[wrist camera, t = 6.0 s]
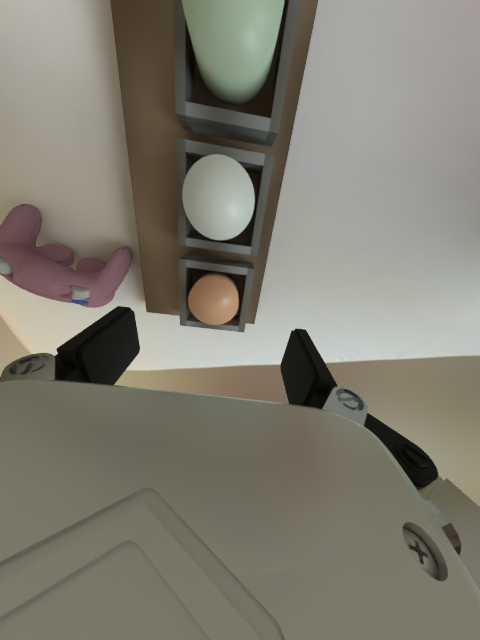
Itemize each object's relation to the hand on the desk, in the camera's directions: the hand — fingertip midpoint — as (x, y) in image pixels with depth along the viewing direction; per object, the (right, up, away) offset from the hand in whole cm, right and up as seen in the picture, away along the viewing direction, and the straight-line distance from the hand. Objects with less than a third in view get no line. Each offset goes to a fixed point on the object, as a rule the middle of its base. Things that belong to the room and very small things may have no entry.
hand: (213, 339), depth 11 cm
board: (-1, +14, +5) cm, 15 cm away
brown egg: (-1, +4, +8) cm, 9 cm away
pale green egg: (+1, +16, -1) cm, 16 cm away
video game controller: (-15, +8, +8) cm, 19 cm away
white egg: (0, +10, +3) cm, 10 cm away
